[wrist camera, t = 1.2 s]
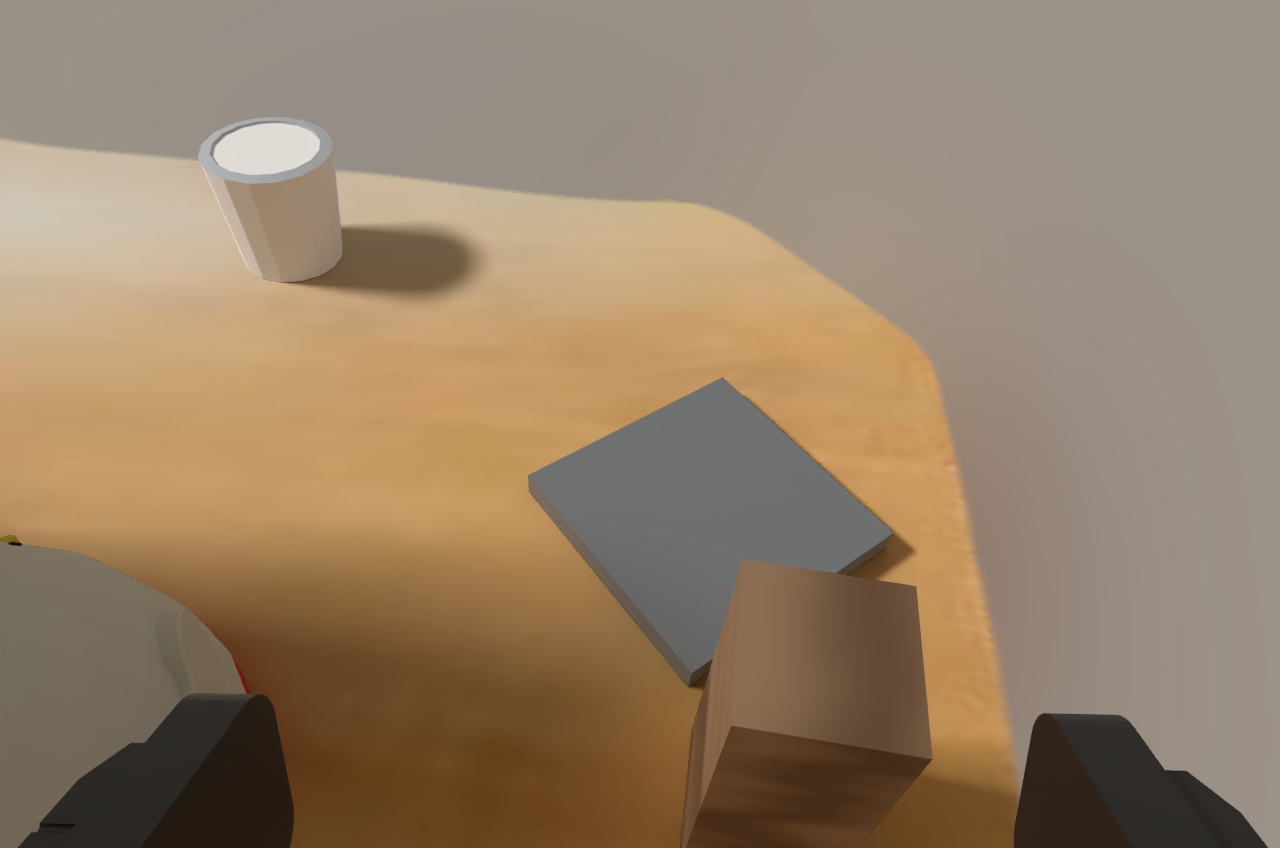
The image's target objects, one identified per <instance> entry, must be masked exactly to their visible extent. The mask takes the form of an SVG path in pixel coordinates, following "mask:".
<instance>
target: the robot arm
mask: <svg viewBox="0 0 1280 848" xmlns="http://www.w3.org/2000/svg"><path fill="white" fill-rule="evenodd" d="M293 822H294V810H293V802H292V797H291V792H290V787H289V782H288V777H287V772H286V767H285V762H284V757H283V751H282V746H281V741H280V736H279V731H278V726H277V721H276V716H275V712H274V708H273V705H272V703H271V701H270V700H269V699H268V698H267V697H266V696H265V695H261V694H216V693H192V694H190V695H187V696H186V697H184V698H183V699H182V700H181V701H180V702H179V703H178V704H177V705H176V706H175V707H174V709H173V710H172V711H171V712H170V713H169V714H168V716H167V717H166V718H165V719H164V720H163V722H162V723H161V724H160V725H159V726H158V728H157V729H156V730H155V731H154V732H153V733H152V735H151V736H150V737H149V738H148V739H147V741H146V742H145V743H130V744H128V745H127V746H126V747H124V748H123V749H121V750H120V751H118V752H117V753H115V754H114V755H113V756H111V757H110V758H108V759H107V760H105V761H104V762H103V763H101V764H100V765H98V766H97V767H95V768H94V769H92V770H91V771H90V772H88V773H87V774H85V775H84V776H82V777H81V778H80V779H78V780H77V782H76V783H75V784H74V785H73V786H72V787H71V788H70V789H69V791H68V792H67V793H66V794H65V795H64V796H63V797H62V798H61V799H60V801H59V802H58V803H57V804H56V805H55V806H54V807H53V808H52V810H51V811H50V812H49V813H48V814H47V815H46V816H45V817H44V818H43V820H42V821H41V822H40V823H39V824H40V826H39V829H38V831H37V832H31V833H30V834H29V835H28V836H27V837H26V839H25V840H24V841H23V842H22V843H21V844H20V845H19V846H18V848H289V847H290V843H291V838H292V832H293ZM1014 848H1268V847H1267V846H1266V844H1265V843H1264V842H1263V841H1262V839H1261V838H1260V837H1259V836H1258V834H1257V833H1256V832H1255V831H1254V829H1253V828H1252V827H1251V826H1250V824H1249V823H1248V821H1247V820H1246V819H1245V818H1244V816H1243V815H1242V814H1241V813H1240V812H1239V811H1238V810H1236V809H1235V808H1234V807H1233V806H1231V805H1230V804H1229V803H1227V802H1226V801H1224V800H1223V799H1222V798H1221V797H1220V796H1218V795H1217V794H1216V793H1214V792H1213V791H1212V790H1211V789H1209V788H1208V787H1207V786H1205V785H1204V784H1203V783H1201V782H1200V781H1199V780H1198V779H1196V778H1195V777H1194V776H1192V775H1191V774H1190V773H1189V772H1187V771H1170V770H1164V768H1163V767H1162V766H1161V764H1160V763H1159V761H1158V760H1157V759H1156V757H1155V756H1154V754H1153V753H1152V752H1151V750H1150V749H1149V747H1148V746H1147V745H1146V743H1145V742H1144V740H1143V739H1142V738H1141V736H1140V735H1139V733H1138V732H1137V731H1136V729H1135V728H1134V727H1133V725H1132V724H1131V723H1130V722H1129V721H1128V720H1127V719H1125V718H1124V717H1122V716H1119V715H1097V714H1092V715H1091V714H1049V713H1048V714H1047V713H1044V714H1041V715H1040V716H1038V718H1037V719H1036V721H1035V723H1034V726H1033V730H1032V734H1031V740H1030V746H1029V751H1028V756H1027V762H1026V767H1025V773H1024V778H1023V784H1022V789H1021V795H1020V800H1019V806H1018V812H1017V817H1016V823H1015V830H1014Z"/></svg>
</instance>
